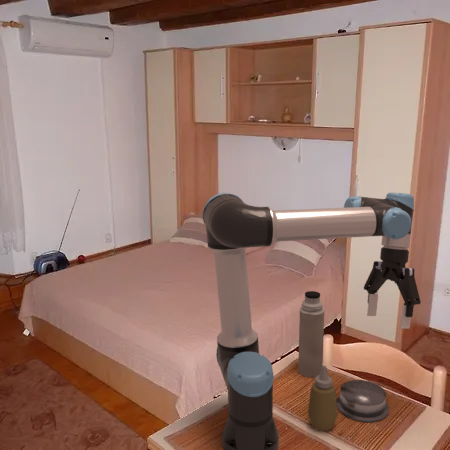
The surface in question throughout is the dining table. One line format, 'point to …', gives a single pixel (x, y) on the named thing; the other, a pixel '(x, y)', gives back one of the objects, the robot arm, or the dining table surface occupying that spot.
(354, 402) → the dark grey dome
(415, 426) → the dining table surface
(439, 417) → the dining table surface
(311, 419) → the squeeze bottle
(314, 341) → the thermos bottle
